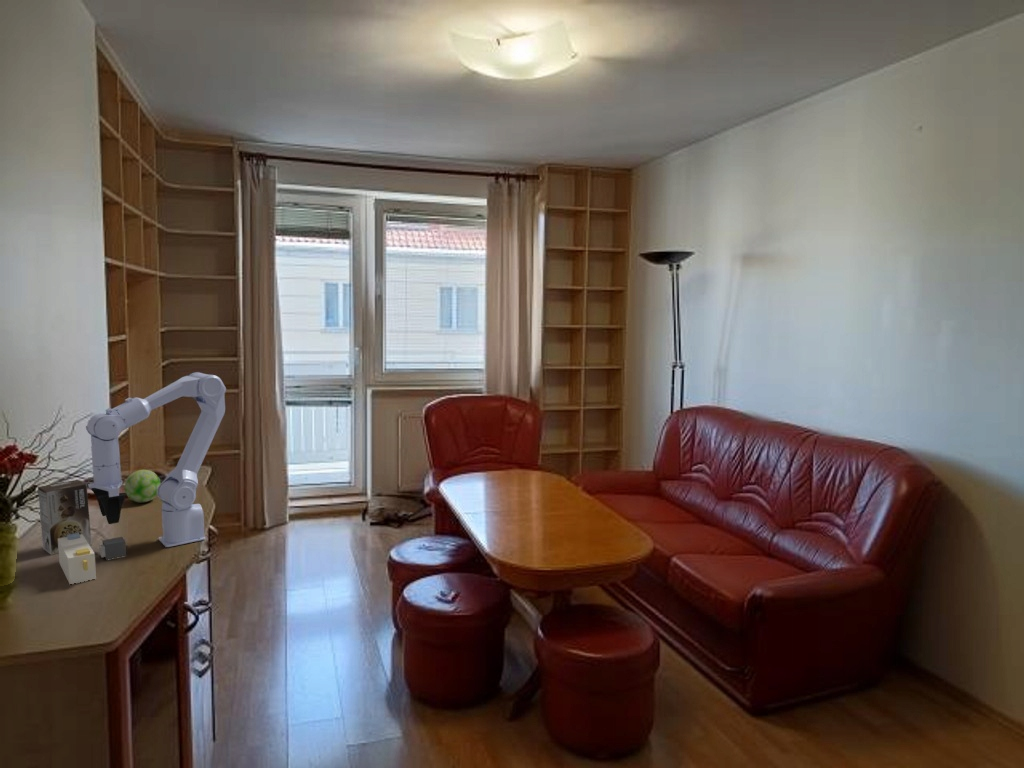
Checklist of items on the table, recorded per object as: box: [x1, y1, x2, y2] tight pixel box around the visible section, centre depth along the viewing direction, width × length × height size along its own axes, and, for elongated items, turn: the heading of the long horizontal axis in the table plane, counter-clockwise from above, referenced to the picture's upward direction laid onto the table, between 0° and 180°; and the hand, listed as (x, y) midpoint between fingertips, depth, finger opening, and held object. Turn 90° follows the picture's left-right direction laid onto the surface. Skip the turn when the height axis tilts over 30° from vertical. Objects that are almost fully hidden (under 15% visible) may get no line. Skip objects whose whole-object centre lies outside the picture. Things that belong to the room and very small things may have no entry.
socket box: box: [58, 533, 97, 585], centre depth 158 cm, size 5×19×7 cm, turn 40°
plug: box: [99, 536, 127, 561], centre depth 167 cm, size 5×4×4 cm
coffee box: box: [37, 479, 93, 556], centre depth 172 cm, size 9×6×16 cm
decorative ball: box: [124, 469, 162, 504], centre depth 212 cm, size 10×10×10 cm
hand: (110, 519), depth 166 cm, fingers open, 7 cm apart
